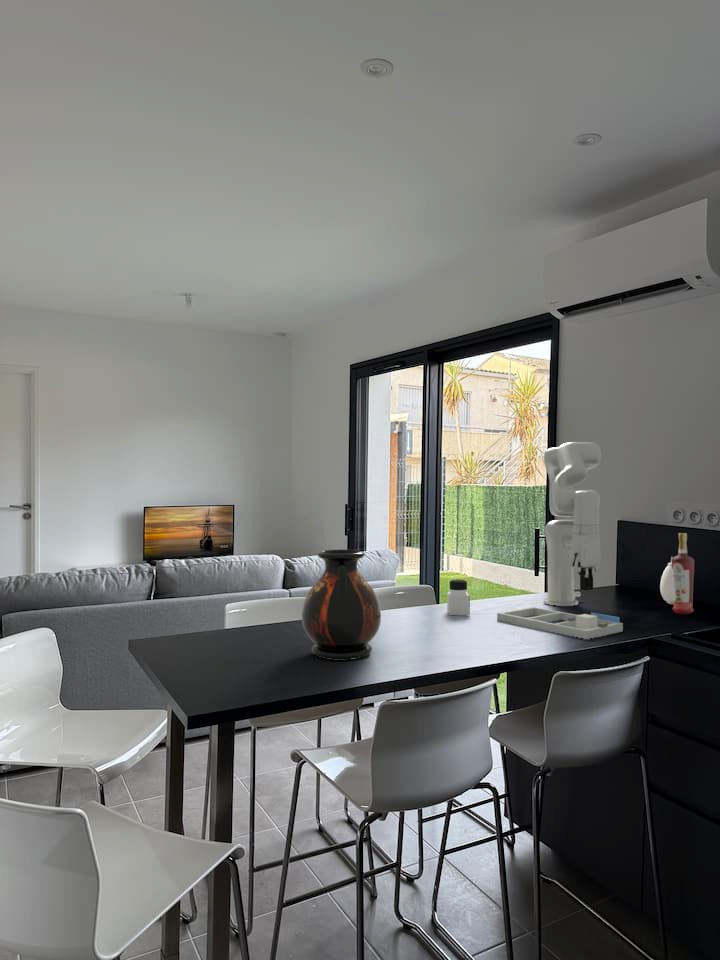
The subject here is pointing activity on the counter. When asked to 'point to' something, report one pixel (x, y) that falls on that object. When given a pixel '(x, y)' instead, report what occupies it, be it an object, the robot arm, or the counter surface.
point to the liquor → (683, 578)
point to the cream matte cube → (586, 621)
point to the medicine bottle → (458, 598)
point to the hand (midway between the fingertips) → (586, 589)
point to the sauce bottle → (667, 584)
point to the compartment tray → (568, 627)
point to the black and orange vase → (341, 608)
